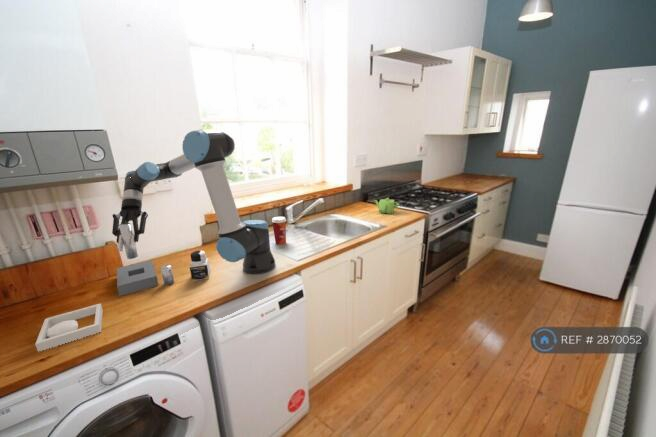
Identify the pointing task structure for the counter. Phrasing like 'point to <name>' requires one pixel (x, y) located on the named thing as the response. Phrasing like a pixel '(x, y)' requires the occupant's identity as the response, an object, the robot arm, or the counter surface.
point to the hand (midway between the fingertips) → (126, 249)
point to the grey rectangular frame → (47, 343)
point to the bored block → (136, 277)
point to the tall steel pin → (127, 240)
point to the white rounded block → (62, 328)
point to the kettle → (386, 206)
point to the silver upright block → (167, 275)
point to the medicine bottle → (199, 266)
